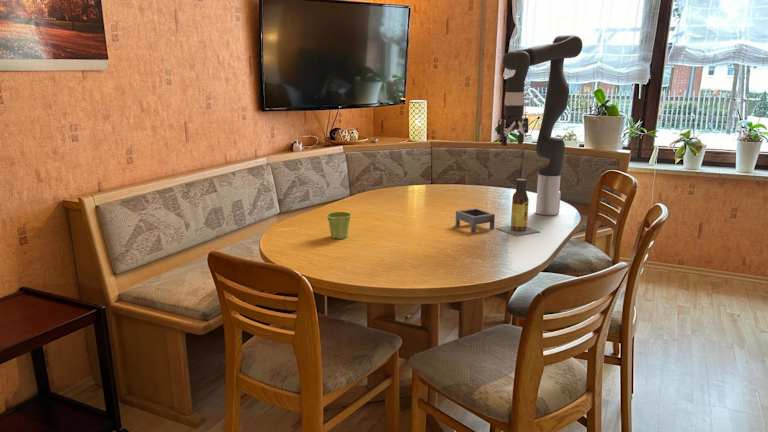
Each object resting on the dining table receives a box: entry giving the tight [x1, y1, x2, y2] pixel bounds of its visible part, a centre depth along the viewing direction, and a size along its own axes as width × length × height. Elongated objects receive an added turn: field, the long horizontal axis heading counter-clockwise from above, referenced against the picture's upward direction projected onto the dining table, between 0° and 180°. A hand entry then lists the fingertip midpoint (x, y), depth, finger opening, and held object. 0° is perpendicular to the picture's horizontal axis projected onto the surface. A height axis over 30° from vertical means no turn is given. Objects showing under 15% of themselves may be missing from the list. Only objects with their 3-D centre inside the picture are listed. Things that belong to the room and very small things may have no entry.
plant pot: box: [325, 211, 352, 240], centre depth 216 cm, size 9×9×9 cm
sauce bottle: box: [510, 178, 530, 231], centre depth 224 cm, size 7×6×20 cm
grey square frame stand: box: [455, 207, 496, 233], centre depth 230 cm, size 10×11×6 cm
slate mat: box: [495, 225, 541, 237], centre depth 226 cm, size 12×12×1 cm
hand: (512, 144), depth 232 cm, fingers open, 8 cm apart
